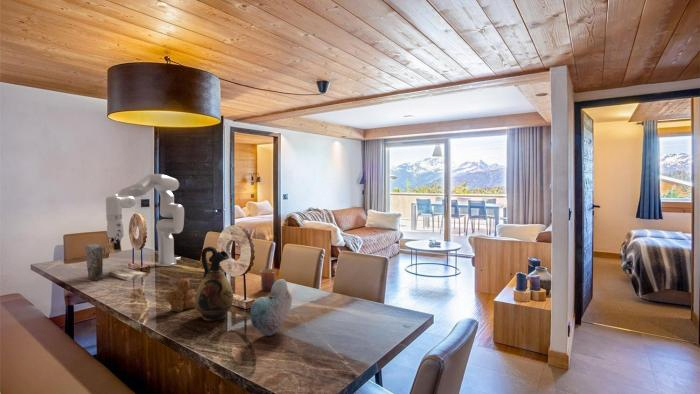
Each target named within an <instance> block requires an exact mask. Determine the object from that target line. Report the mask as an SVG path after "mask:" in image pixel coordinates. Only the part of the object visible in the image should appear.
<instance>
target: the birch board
mask: <svg viewBox="0 0 700 394" xmlns="http://www.w3.org/2000/svg"><path fill="white" fill-rule="evenodd" d="M108 276H111V277H114V278H117V279H121V280H124V281H130V280H135V279H140V278H144V277H147V273H146V272H144V271H140V270H136V269H132V268H123V269H116V270H112V271H108Z"/></svg>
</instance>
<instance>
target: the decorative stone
mask: <svg viewBox="0 0 700 394" xmlns="http://www.w3.org/2000/svg"><path fill="white" fill-rule="evenodd" d="M269 293H270V294H269V295H268V296H260V297H258V298H257V299H256V300H254V301H253V302H251V303H252V304H251V305H250V322H251V325H252V326H253V327H254V328H255V329H256V330H258V331H260V332H261V333H262V334H263V335H265V336H269V337H270V336H273V335H274V334H275V333H277V331H278V330H279V328H280V327H281V326H282V324H284V322H285V321H286V319H287V317H288V315H289V313H290V312H291V308H292V302H293V295H292V292H290V291H289V289H288V284H287V281H286V280H285V279H284V278H279V279H277V280H275V283H274V284H273V286H272V289H271V291H270V292H269Z"/></svg>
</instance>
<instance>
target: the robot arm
mask: <svg viewBox="0 0 700 394" xmlns="http://www.w3.org/2000/svg"><path fill="white" fill-rule="evenodd" d="M179 187H180V182H179V180H178V179H177V178H174V177H172V176H169V175H166V174H162V173H149V174H147V175H145V176H144V177H143V178H142V179H140V180H138V181H137V182H135V183H134V184H132V185H130V186H127V187H124V188H121V189H120V190H119V189H118V191H116V192H115V193H113V194H112V195H111V196H107V197H106V198H105V215H106V217H105V218H106V222H107V223H106V236H107V238H108V240H109V241H108V243H109V242H113V241H114V242H115V243H114V250H119V249H121V250H122V246H121V247H120V244H121V242H122V241H121V240H122V239H123V237H124V234H125V233H124V224H123V213H122V212H123V211H122V209H132V208H133V207H134V206H135V205H136V202H137V201H136V199H135V198H138V197H142V196H145V195H147V194H148V193H149V192H150V191H151V190H152V189H155V190H156V191H157V192H158V194H159V197H160V202H159V203H160V204H159V215H160V216H161V217H162V219H160V220H157V223H156V225H155V227H156V232H157V238H158V239H157V240H158V241H157V244H158V262H156V263H155V266H157V267H169V266H175V265H176V264H177V261H178V260H179V261H180V260H181V259H182V258H181V256H177V257H176V256H175V250H174V249H175V245H174V244H175V242H174V240H175V239H174V236H173V234H180V233H181V232H182V231H183V229H184V226H185V225H184V223H185V208H184V206H183V205H182V204H180V203H175V195H174V194H173V192H174V191H176V190H178V189H179ZM163 218H165V219H163ZM167 218H168V219H167ZM171 218H172V219H171Z"/></svg>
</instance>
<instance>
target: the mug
mask: <svg viewBox="0 0 700 394" xmlns="http://www.w3.org/2000/svg"><path fill="white" fill-rule="evenodd" d="M276 273H277V269H275V268H266V269H265V268H264V269H261V270H259V274H260V278H261V280H260V288H261V290H262V291H263V292H271V289H272V286H273V284H274V283H275V282H276Z"/></svg>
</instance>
